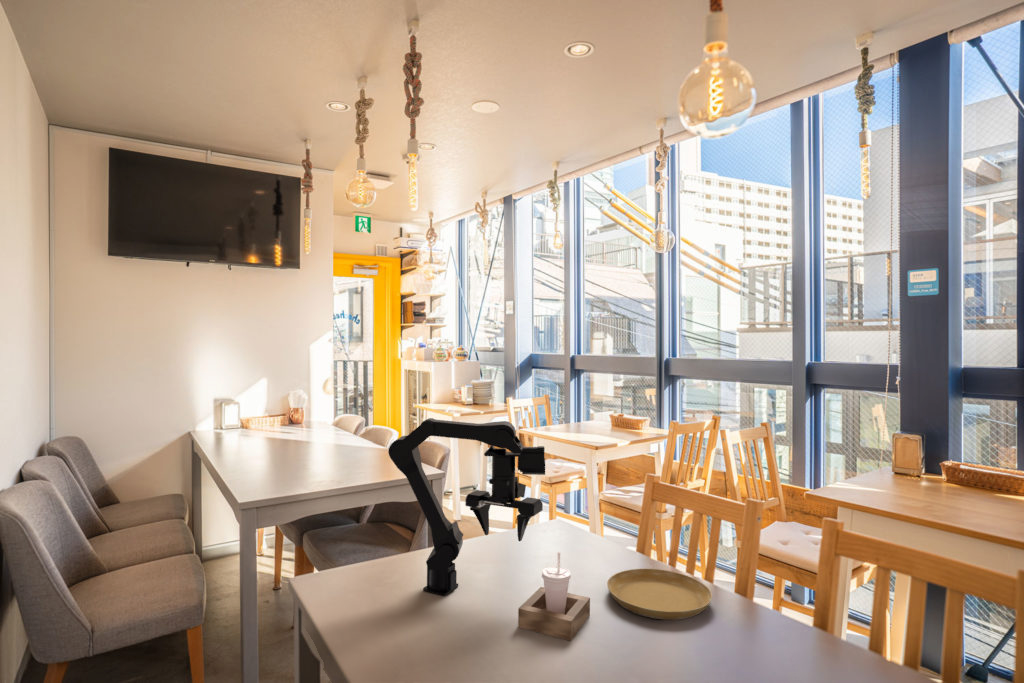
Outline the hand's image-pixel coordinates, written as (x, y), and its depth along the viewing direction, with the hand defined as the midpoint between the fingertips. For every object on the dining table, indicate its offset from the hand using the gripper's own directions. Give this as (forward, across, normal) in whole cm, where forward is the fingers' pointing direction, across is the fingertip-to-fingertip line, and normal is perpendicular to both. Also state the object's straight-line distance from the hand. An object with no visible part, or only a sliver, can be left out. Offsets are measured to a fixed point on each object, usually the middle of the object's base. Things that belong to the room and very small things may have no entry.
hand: (503, 537), depth 138 cm
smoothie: (+12, -17, +7) cm, 22 cm away
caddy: (+13, -17, +8) cm, 23 cm away
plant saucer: (+14, -35, -13) cm, 40 cm away
